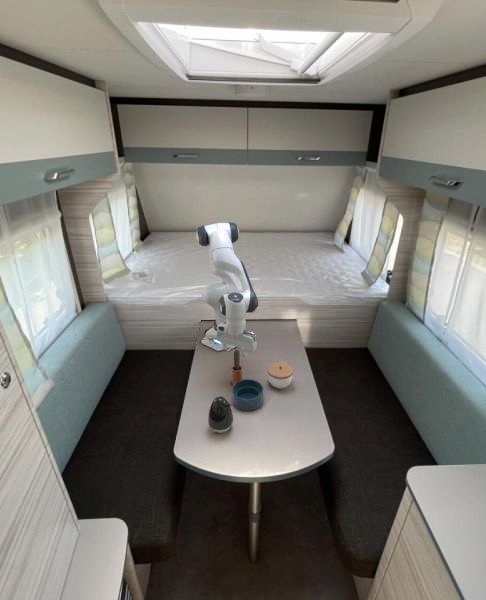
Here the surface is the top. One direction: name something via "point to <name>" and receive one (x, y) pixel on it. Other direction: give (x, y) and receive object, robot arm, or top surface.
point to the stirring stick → (236, 360)
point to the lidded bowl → (280, 374)
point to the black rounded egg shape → (220, 415)
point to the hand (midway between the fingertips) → (236, 353)
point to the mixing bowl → (247, 394)
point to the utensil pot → (237, 375)
